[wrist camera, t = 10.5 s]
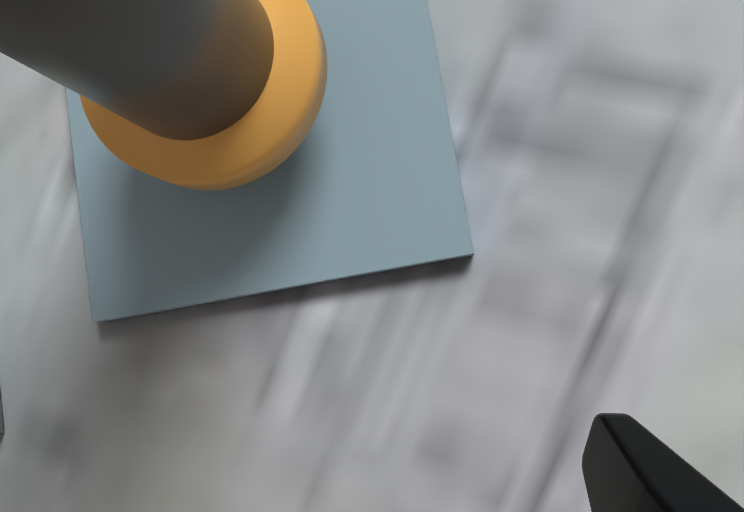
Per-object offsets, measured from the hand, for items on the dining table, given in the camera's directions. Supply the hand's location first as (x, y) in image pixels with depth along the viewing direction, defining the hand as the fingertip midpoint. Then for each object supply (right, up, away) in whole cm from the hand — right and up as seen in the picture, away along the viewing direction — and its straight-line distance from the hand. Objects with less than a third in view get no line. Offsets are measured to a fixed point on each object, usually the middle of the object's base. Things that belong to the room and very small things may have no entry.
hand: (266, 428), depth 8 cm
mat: (-2, +7, +11) cm, 14 cm away
